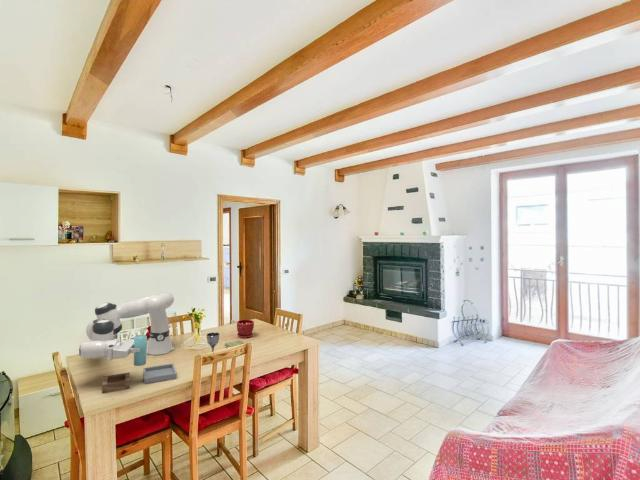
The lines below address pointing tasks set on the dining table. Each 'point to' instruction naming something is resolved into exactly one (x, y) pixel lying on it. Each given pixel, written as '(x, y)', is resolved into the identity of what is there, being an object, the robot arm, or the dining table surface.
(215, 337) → the wine glass
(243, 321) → the plant pot
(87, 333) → the robot arm
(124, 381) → the cup holder
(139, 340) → the pillar candle
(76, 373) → the dining table surface
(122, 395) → the dining table surface
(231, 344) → the washcloth
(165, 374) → the tray
